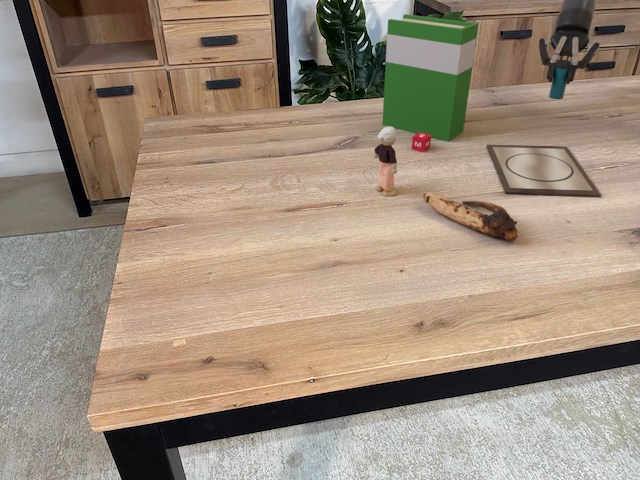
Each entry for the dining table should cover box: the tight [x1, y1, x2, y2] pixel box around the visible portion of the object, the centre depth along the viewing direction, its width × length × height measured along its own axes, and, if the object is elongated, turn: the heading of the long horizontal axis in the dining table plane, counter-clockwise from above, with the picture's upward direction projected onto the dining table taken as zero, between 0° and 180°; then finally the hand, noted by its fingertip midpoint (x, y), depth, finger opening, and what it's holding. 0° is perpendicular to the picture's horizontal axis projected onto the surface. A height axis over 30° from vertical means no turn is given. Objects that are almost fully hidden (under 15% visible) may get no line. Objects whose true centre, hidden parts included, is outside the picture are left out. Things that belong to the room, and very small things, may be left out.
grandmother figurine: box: [372, 126, 398, 197], centre depth 98 cm, size 8×4×13 cm, turn 35°
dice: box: [411, 132, 432, 153], centre depth 117 cm, size 3×3×3 cm
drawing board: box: [486, 144, 602, 198], centre depth 108 cm, size 17×22×1 cm
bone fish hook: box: [422, 191, 519, 242], centre depth 91 cm, size 9×5×18 cm
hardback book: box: [381, 13, 479, 142], centre depth 121 cm, size 18×7×24 cm, turn 52°
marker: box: [548, 59, 571, 100], centre depth 127 cm, size 3×3×8 cm
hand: (559, 81), depth 125 cm, fingers closed on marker, 3 cm apart
